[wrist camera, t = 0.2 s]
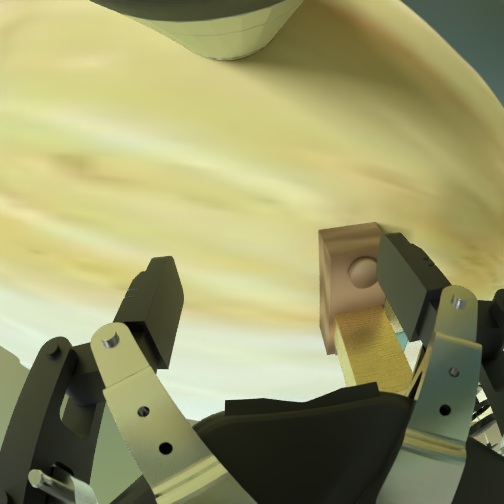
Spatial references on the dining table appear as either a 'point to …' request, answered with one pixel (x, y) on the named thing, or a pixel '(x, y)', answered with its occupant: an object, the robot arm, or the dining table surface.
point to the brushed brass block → (370, 350)
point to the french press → (482, 423)
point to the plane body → (347, 273)
